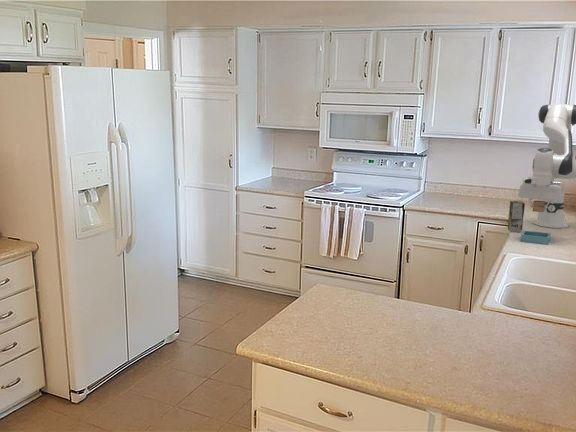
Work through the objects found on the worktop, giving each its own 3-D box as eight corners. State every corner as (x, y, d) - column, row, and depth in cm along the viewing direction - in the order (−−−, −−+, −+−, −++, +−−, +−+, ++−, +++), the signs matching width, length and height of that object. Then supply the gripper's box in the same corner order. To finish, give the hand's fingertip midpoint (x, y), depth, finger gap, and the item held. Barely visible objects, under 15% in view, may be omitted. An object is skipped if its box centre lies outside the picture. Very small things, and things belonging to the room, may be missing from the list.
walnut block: (533, 209, 292) (534, 200, 291) (544, 210, 290) (545, 201, 289) (532, 211, 288) (533, 201, 287) (543, 212, 285) (544, 202, 285)
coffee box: (522, 232, 312) (525, 203, 309) (509, 231, 313) (512, 202, 310) (519, 229, 321) (521, 201, 318) (507, 228, 322) (509, 200, 319)
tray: (523, 237, 300) (524, 230, 299) (549, 240, 294) (550, 233, 293) (520, 241, 289) (521, 234, 289) (547, 244, 283) (548, 237, 283)
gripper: (564, 181, 284) (561, 209, 286) (521, 178, 294) (518, 205, 296) (563, 182, 278) (560, 210, 281) (519, 179, 288) (516, 206, 291)
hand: (538, 207), depth 289 cm, fingers closed on walnut block, 5 cm apart
